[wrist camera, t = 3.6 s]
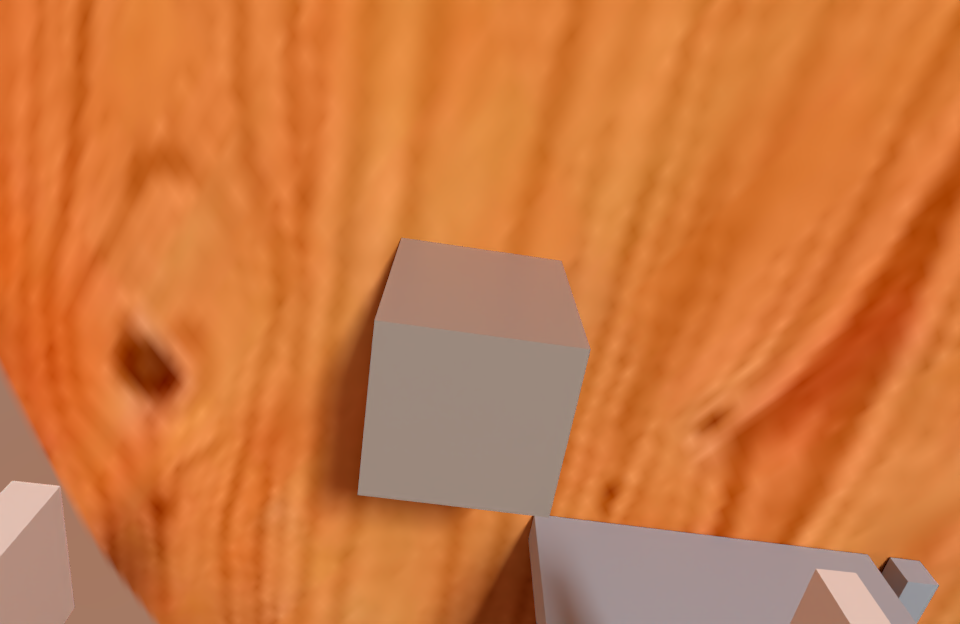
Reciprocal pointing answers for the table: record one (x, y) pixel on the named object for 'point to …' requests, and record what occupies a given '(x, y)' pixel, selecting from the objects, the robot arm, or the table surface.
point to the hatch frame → (695, 577)
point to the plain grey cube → (472, 380)
